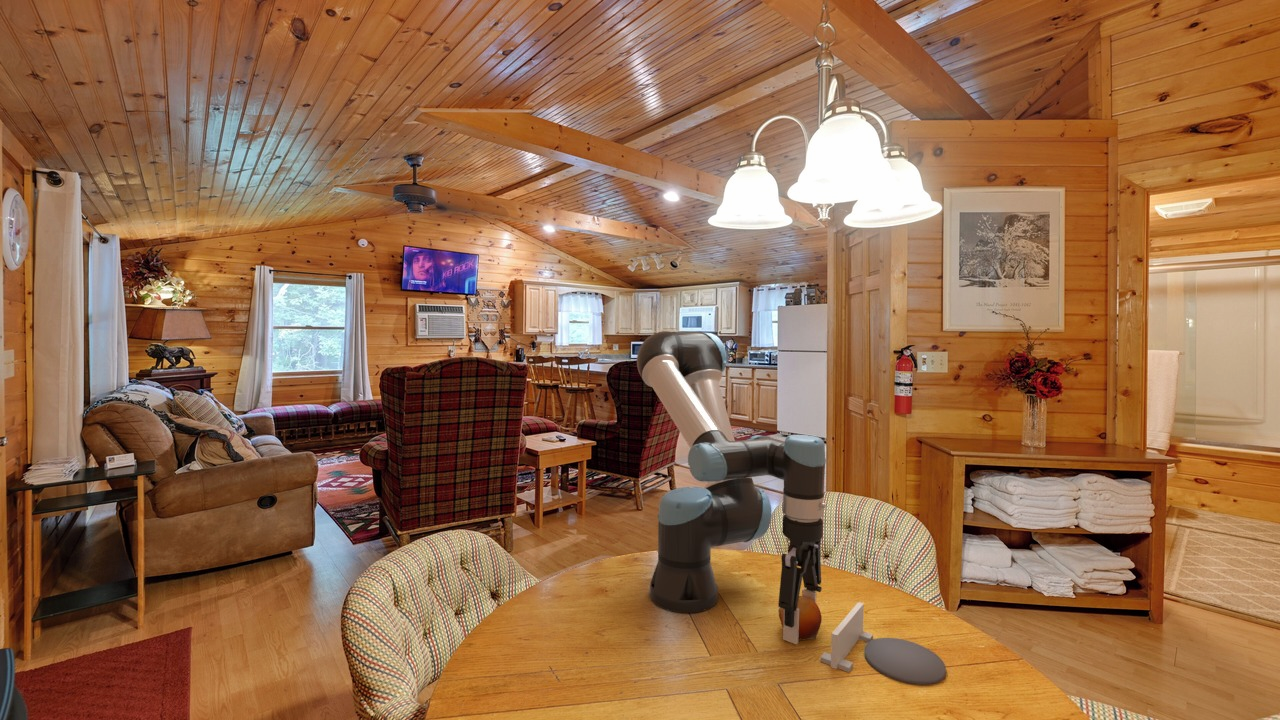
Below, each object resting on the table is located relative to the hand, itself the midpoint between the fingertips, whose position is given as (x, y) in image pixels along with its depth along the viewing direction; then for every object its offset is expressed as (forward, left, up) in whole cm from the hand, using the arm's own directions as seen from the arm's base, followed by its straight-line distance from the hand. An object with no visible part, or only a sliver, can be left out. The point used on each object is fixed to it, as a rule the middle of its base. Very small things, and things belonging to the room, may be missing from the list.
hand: (799, 631), depth 105 cm
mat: (+18, +3, 0) cm, 18 cm away
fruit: (0, 0, -1) cm, 1 cm away
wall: (+9, 0, 0) cm, 9 cm away
